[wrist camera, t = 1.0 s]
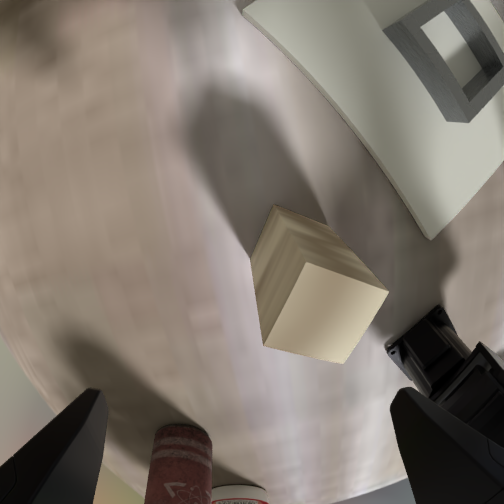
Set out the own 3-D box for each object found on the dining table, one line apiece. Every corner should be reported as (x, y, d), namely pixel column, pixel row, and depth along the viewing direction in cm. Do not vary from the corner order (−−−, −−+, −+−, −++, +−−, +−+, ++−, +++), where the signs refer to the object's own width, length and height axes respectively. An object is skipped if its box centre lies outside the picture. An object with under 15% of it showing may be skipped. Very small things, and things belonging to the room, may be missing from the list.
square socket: (493, 74, 15) (514, 73, 13) (446, 121, 17) (468, 123, 14) (439, -7, 13) (458, -16, 10) (381, 30, 14) (400, 20, 12)
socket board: (536, 104, 17) (543, 105, 16) (424, 236, 21) (431, 240, 20) (416, -73, 10) (422, -78, 9) (241, 15, 15) (242, 9, 14)
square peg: (328, 226, 20) (389, 291, 12) (303, 277, 21) (343, 364, 13) (273, 204, 19) (306, 261, 11) (250, 259, 21) (263, 345, 12)
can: (147, 420, 26) (126, 541, 14) (209, 423, 27) (207, 551, 14) (159, 449, 29) (146, 555, 16) (214, 452, 29) (214, 561, 16)
